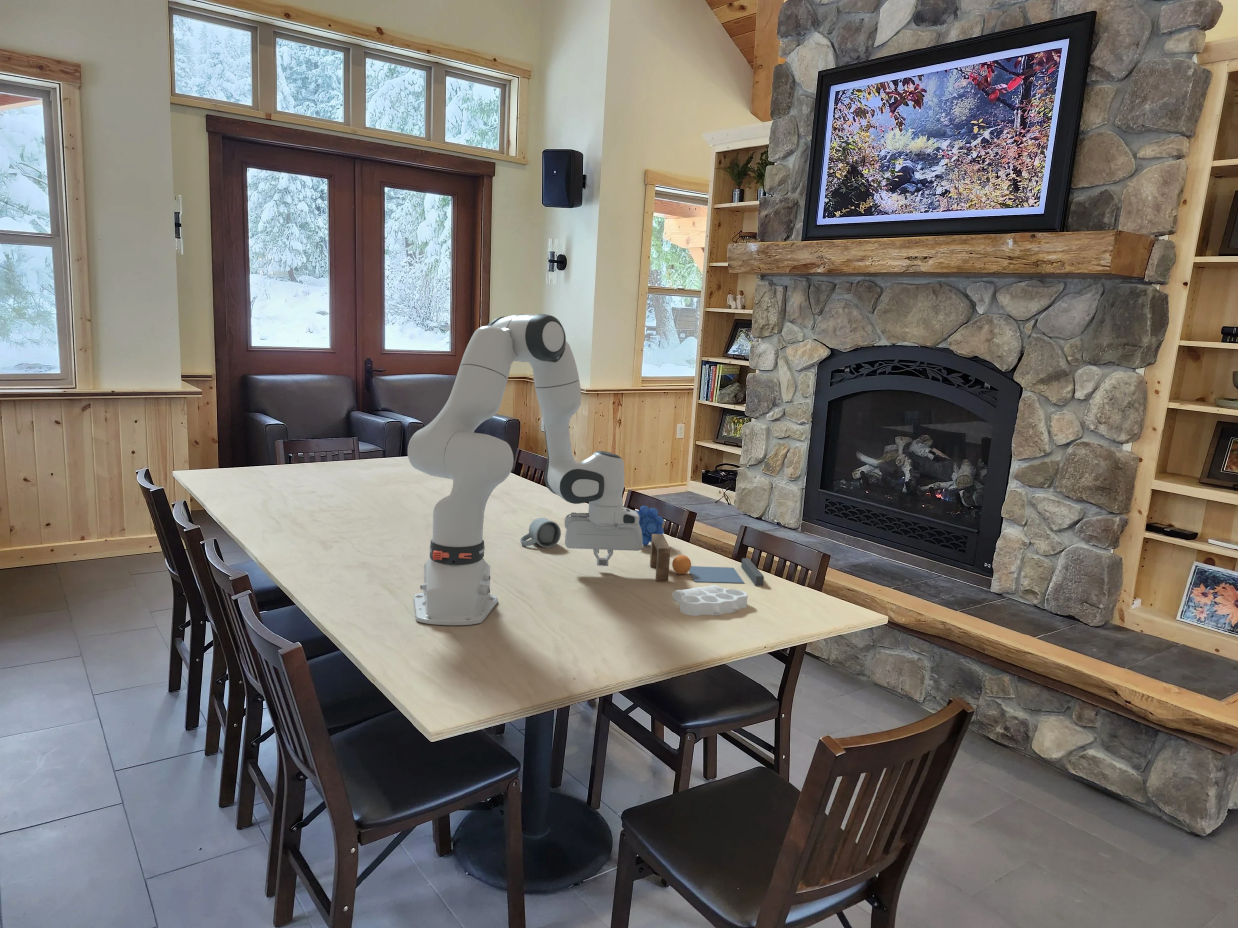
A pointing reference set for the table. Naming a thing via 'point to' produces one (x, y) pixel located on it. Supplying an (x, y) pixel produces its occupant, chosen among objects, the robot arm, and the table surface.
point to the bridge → (660, 557)
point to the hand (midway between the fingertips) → (602, 565)
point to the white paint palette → (710, 600)
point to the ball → (681, 564)
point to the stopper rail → (752, 572)
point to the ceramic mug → (542, 533)
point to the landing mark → (715, 574)
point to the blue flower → (649, 523)
